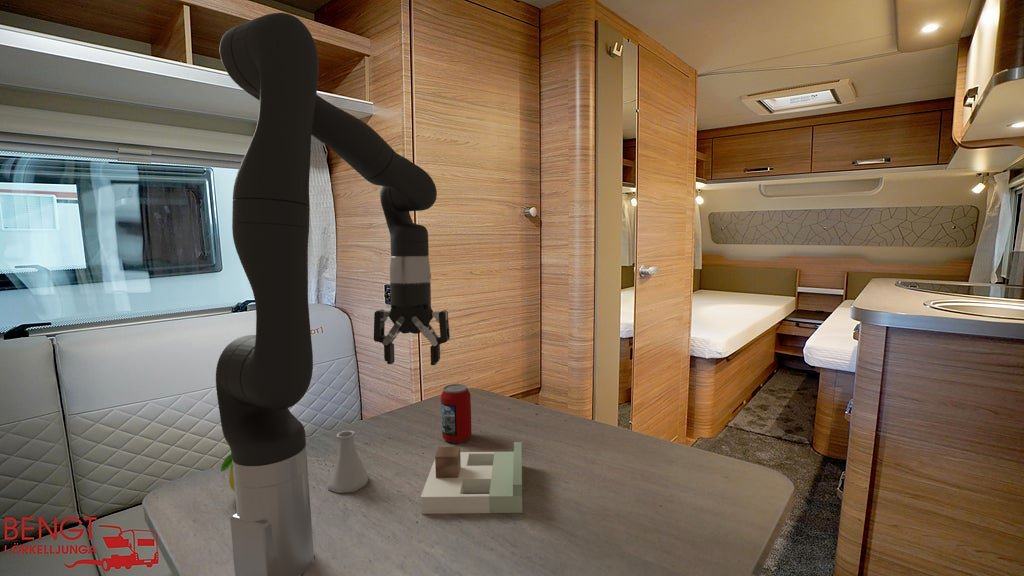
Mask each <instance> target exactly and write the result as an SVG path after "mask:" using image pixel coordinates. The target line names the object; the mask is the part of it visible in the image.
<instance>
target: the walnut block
mask: <svg viewBox="0 0 1024 576" xmlns="http://www.w3.org/2000/svg"><path fill="white" fill-rule="evenodd" d="M460 452H461V446H438V448H437V451H436V453H435V456H434V460H435V468H436V478H458V476H459V472H460V468H461V459H460Z"/></svg>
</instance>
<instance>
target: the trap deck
mask: <svg viewBox="0 0 1024 576" xmlns="http://www.w3.org/2000/svg"><path fill="white" fill-rule="evenodd" d="M522 447H523V446H522V441H514V442H513V451H464V452H463V451H460V459H461V468H460V472H459V476H458V478H436V468H435V459H433V463H432V466H431V468H430V471H429V473H428V477H427V479H426V482H425V484H424V487H423V489H422V492H421V494H420V513H421V514H422V515H423V514H424V515H425V514H427V515H430V514H431V515H435V514H436V515H437V514H441V515H442V514H444V515H445V514H447V515H448V514H449V515H450V514H522V513H523V450H522V449H523V448H522Z"/></svg>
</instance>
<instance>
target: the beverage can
mask: <svg viewBox="0 0 1024 576" xmlns="http://www.w3.org/2000/svg"><path fill="white" fill-rule="evenodd" d="M471 405H472V402H471V393H470V391H469V389H468V385H465V384H460V383H454V384H452V383H451V384H447V385H446V386H444V387H443V390H442V392H441V394H440V414H441V415H440V416H441V434H442V435H441V436H442V438H443V440H446V441H447V442H449V443H454V444H457V443H463V442H466V441H467V440H468V439H469V438H470V437H471V436H472V406H471Z"/></svg>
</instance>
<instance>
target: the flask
mask: <svg viewBox="0 0 1024 576" xmlns="http://www.w3.org/2000/svg"><path fill="white" fill-rule="evenodd" d="M355 433H356V431H354V430H342V431H340V432H338V433H337V434H336V440H337V441H338V450H337V457H336V460H335V464H334V468H333V469H332V473H331V477H330V480H329V484H328V487H327V490H329V491H332V492H333V493H337V494H344V493H345V494H346V493H355V492H356V491H358V490H359V489H360V490H361V489H362V488H364V486H366V485H367V484H368V482H369V478H370V477H369V474H368V472H367V471H366V469H365V466H364V465H363V462H362V461H361V459H360V456H359V454H358V452H357V449H356V445H355V440H354V439H355V438H354V437H355V435H356V434H355Z"/></svg>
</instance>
